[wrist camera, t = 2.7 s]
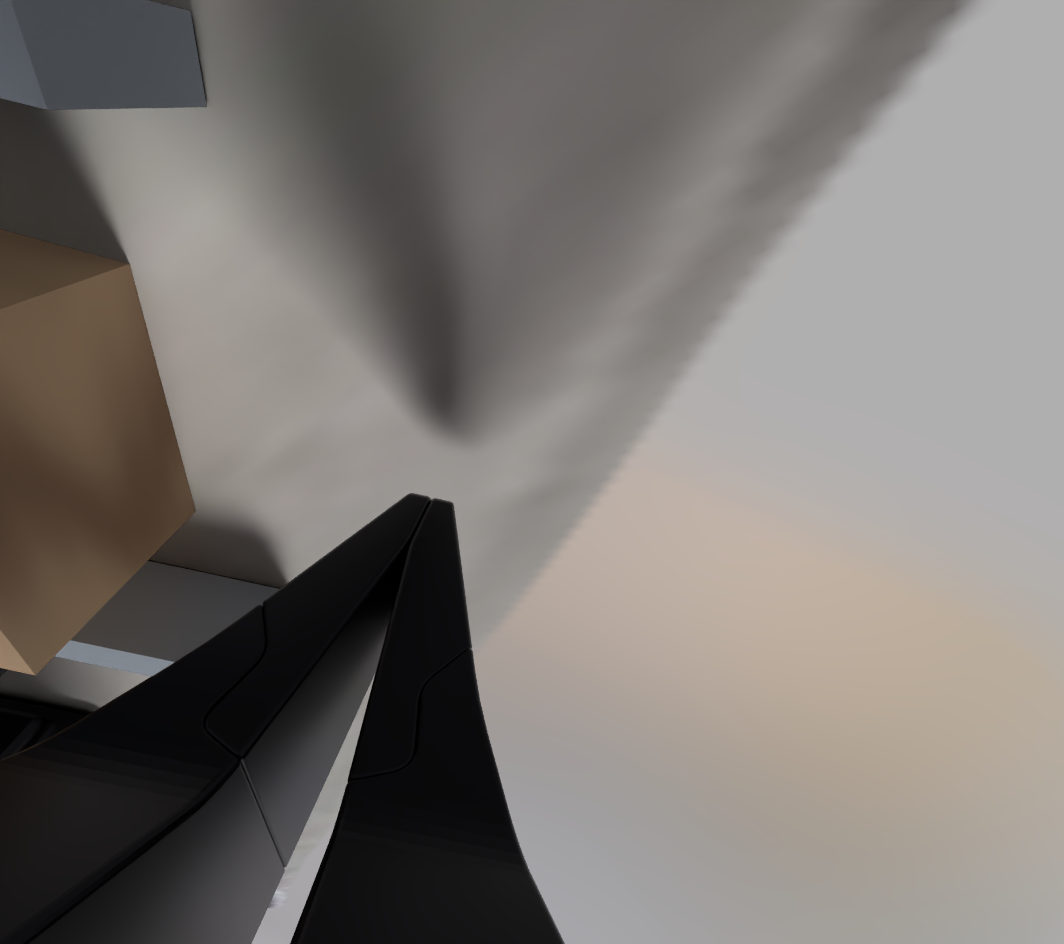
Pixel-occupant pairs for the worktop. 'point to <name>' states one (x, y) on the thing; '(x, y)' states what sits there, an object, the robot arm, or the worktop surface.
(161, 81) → the box
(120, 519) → the walnut block
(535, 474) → the worktop surface
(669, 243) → the worktop surface
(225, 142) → the worktop surface
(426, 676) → the robot arm
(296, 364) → the worktop surface
